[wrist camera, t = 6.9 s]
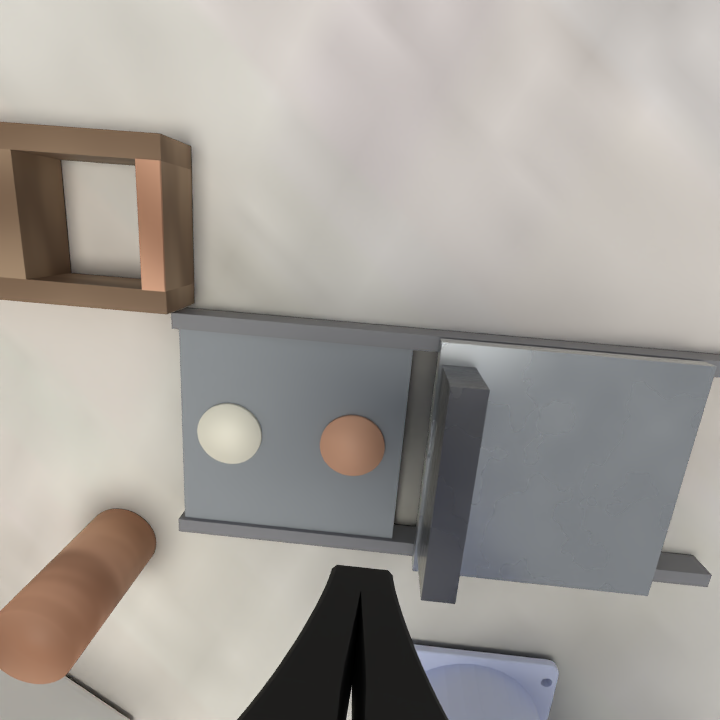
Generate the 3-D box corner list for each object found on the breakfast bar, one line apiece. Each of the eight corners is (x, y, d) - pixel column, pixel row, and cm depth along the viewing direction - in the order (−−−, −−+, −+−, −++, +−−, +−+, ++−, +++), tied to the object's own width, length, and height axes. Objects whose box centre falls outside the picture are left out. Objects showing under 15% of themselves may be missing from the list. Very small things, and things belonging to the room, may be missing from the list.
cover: (640, 584, 19) (684, 647, 16) (411, 560, 20) (415, 618, 17) (705, 361, 17) (771, 390, 14) (440, 338, 17) (450, 360, 14)
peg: (157, 570, 22) (77, 688, 17) (92, 563, 23) (-10, 678, 17) (154, 512, 22) (68, 616, 16) (87, 505, 22) (-23, 606, 16)
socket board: (194, 303, 19) (165, 314, 16) (-70, 280, 19) (-136, 288, 17) (190, 146, 17) (158, 133, 15) (-98, 125, 17) (-175, 108, 15)
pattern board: (689, 567, 21) (707, 587, 19) (190, 514, 21) (179, 531, 20) (757, 357, 18) (783, 366, 17) (184, 307, 19) (171, 313, 18)
